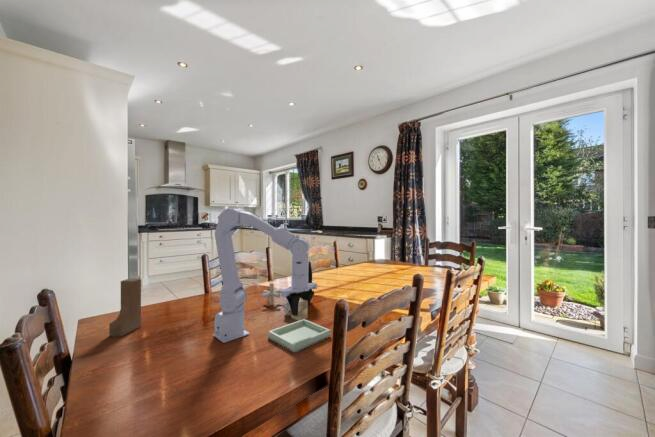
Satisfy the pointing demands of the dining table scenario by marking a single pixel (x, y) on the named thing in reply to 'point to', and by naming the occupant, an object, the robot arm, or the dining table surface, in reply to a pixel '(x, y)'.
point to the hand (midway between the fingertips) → (299, 313)
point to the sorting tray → (299, 335)
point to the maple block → (301, 310)
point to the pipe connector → (271, 293)
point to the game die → (287, 308)
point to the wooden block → (128, 309)
